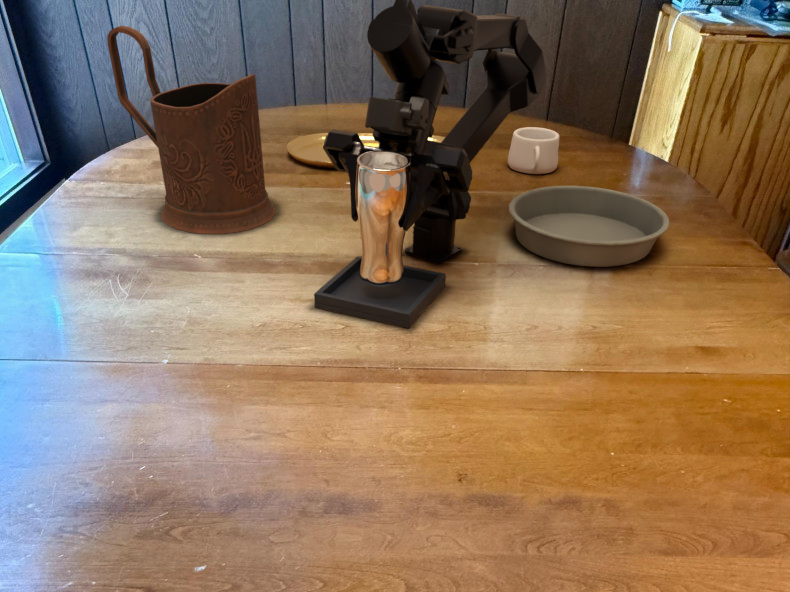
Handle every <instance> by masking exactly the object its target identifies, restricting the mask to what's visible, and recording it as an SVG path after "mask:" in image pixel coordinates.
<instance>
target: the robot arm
mask: <svg viewBox="0 0 790 592" xmlns="http://www.w3.org/2000/svg"><path fill="white" fill-rule="evenodd" d="M366 33H367V34H366V38H367V42H368V44H369V46H370V48H371V50H372V51H373V53H374V55H375V57H376V58H377V60H378V61H379V63H380V65H381V67H382V68H383V70H384V72H385V73H386V75H387V78H389V79H390V80H391V81H393V82H395V83H396V86H395V89H394V93H393V96H392V98H390V97H389V98H381V97H374V96H370V97H369V98H368V104H367V110H366V116H365V124H364V127H365V128H366V129H369V128H370V129H371V130H373V131H372V133H373V135H372V136H373V138H374V140H375V141H378V142H379V146H378V147H371V146H365V145H364V144H363V143H362V141H361V139H360V137H359V135H358V132H354V131H347V130H340V129H332V130H330V131H329V132H327V133H328V134H327V135H326V138H325V141H324V145H323V149H324V151H325V152H326V154H327V156H328V157H329V159H330V160H331V162H332V163H333V165H334V167H335V168H334V169H335V170H337V171H339V172H341V173H347V175H348V178H349V186H350V187H349V190H350V215H351V219H352V221H353V222H355V223H357V222H358V218H357V211H356V199H355V185H356V170H357V158H358V157H359V156H360V155H361V154H363V153H366V152H370V151H393V152H398V153H401V154H404V155H406V156H407V157H408V158H409V159H410V161H411V163H410V169H411V200H410V202H409V205H408V208H407V211H406V214H405V217H404V222H403V229H404V231H406V232H407V231H409V230H410V228H411V227H412V226H413V227H412V229H413V230H412V245H410V246H408V247H406V248H405V249H404V253H405V254H407V255H410V256H413V257H416V258H420V259H422V260H425V261H429V262H431V263H434V264H441V263H443V262H446V261H447V260H449V259H451V258H453V257H454V256H456V255H458V254H460V253H462V252H463V247H461V246H458V245H455V236H456V224H457V223H456V222H457V220H465V219H466V218H467V214H469V210H470V208H471V201H472V196H471V194H470V192H469V190H470V187H471V183H472V180H473V169H472V166H471V162H472V161H473V160H474V159H475V158H476V156H477V155H478V153H479V152H480V151H481V149H482V148H483V147H484V146H485V144H486V143H487V142H488V141H489V139H491V137H492V136H493V135H494V133H495V132H496V130H497V129H498V128H499V127H500V125H502V123H503V122H504V121H505V119H506V118H507V117H508V115H510V114H511V113H514V112H518V111H520V110H523V109H526V108H528V107H529V106H530V105H532V103H534V102H535V101H536V100H537V99H538V97H539V95H540V94H542V92H543V91H544V89H545V86H546V82H547V68H546V63H545V58H544V52H543V50H542V48H541V47H540V46H539V44H538V43H537V42H536V41H535V39H534V38H533V36H532V35H531V34H530V33H529V28H528V24H527V20H526V19H525V18H522V16H520V15H514V14H507V13H500V12H499V13H498V12H496V13H495V14H489V15H486V14H485V15H483V14H482V15H477V14H474V13H473V12H470V11H468V10H464V9H457V8H450V7H443V6H437V5H436V6H435V5H430V4H423V5H420V6H419V7H418V8H417V9H416V7H415V4H414V2H413V0H395V1H394V3H393V5H392V6H389V7H387V8H385V9H383V10H382V11H380V12H379V13H378V14H377V15H376V16H375V17H374V19H372V20H371V21H370V23H369V25H368V28H367V32H366ZM499 49H500V50H501V49H509V50H514V53H510V52H503V51H500V52H498V50H499ZM476 51H486V54H485V56H484V58H483V61H482V66H483V70H484V73H485V83H486V84H485V85H486V86H485V88H484V89H483V91H482V92H481V94H479V96H478V97H477V98H476V99H475V101H474V102H473V103H472V104H471V105H470V107H469V108H468V109H467V110H466V111H465V112H464V114H463V115H462V116H461V117H460V119H458V121H457V122H456V124H455V125H454V126H453V127H452V129H450V131H449V132H448V133H447V135H446V136H444V137H445V138H444V140H443V141H442V142H441V143H439V142H434V141H430V140H428V137H432V136H433V135H434V133H435V128H434V126H433V124H434V121H435V117H436V114H437V110H438V106H439V103H440V100H441V97H442V95H443V96H448V95H449V94H450V85H449V82H448V81H447V75H446V71H445V70H444V68H443V65H442V64H441V63H440V62H444V63H451V64H454V65H455V64H457V65H459V64H462V63H464V62H466V61H468V60H470V59H472V58H473V56H474V52H476Z"/></svg>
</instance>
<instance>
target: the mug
mask: <svg viewBox="0 0 790 592" xmlns="http://www.w3.org/2000/svg"><path fill="white" fill-rule="evenodd" d="M509 146H510V147H509V151H508V156H507V164H508V167H509V168H510V169H511V170H513V171H516V172H519V173H524V174H530V175H542V174H543V175H544V174H545V175H546V174H550V173H552V172H554V171H555V170H556V169H557V168H558V165H559V156H560V155H559V153H560V152H559V151H560V150H559V149H560V134H559V133H558V132H556V131H555V130H553V129H550V128H545V127H538V126H537V127H536V126H528V127H520V128H517V129H515V130H514V131H513V133H512V137H511V141H510V145H509Z"/></svg>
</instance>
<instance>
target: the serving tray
mask: <svg viewBox="0 0 790 592" xmlns="http://www.w3.org/2000/svg"><path fill="white" fill-rule="evenodd" d="M361 260H362V256H360V255H357V256H356V257H355V258H354V259H352V260H351V261H350V262H349V263H347V264H346V265H345V266H344V267H343V268H342V269H341V270H339V271H338V272H337V273H336V274H334V276H332V278H330V279H329V280H328V281H327V282H325V283H324V284H323V285H322V286H321V287H320V288H319V289H318V290H317V291H315V293H314V294H313V296H314V297H313V298H314V299H313V300H314V308H315V309H321V310H325V311H327V312H328V311H329V312H334V313H338V314H342V315H347V316H351V317H356V318H360V319H364V320H369V321H374V322H378V323H383V324H388V325H392V326H397V327H400V328H405V329H410V328H411V327H412V326H413V325H414V324H415V323H416V321H417V320H418V319H419V318H420V317H421V315H422V314H423V313H424V312H425V311H426V309H428V307H429V306H430V305H431V304H432V303H433V302H434V301H435V299H437V297H438V296H439V295H440V294H441V293H442V291H443V290H444V289H445V288H446V282H447V280H446V279H447V273H444V272H441V271H435V270H429V269H425V268H421V267H414V266H409V265H404V264H403V267H404V279H403V280H402V281H401V282H400V283H398V284H396V285H393V286H387V287H378V286H372V285H369V284H367V283H365V282H363V281H362V280H361V279H360V276H359V271H360V266H361Z"/></svg>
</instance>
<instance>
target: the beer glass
mask: <svg viewBox="0 0 790 592" xmlns="http://www.w3.org/2000/svg"><path fill="white" fill-rule="evenodd" d="M410 163H411V161H410V159H409V158H408V157H407V156H406V155H404V154H401V153H398V152H393V151H370V152H366V153H363V154H361V155H360V156H359V157H358V158H357V170H356V185H355V199H356V211H357V218H358V220H357V223H358V229H359V235H360V240H361V250H362V251H361V257H362V260H361V266H360V271H359V276H360V279H361V280H362V281H363V282H365V283H367V284H369V285H372V286H378V287H387V286H393V285H396V284H398V283H400V282H401V281H402V280H403V279H404V267H403V265H404V261H403V247H404V241H405V236H406V232H407V231H404V229H403V222H404V217H405V214H406V211H407V208H408V205H409V202H410V200H411V169H410Z"/></svg>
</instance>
